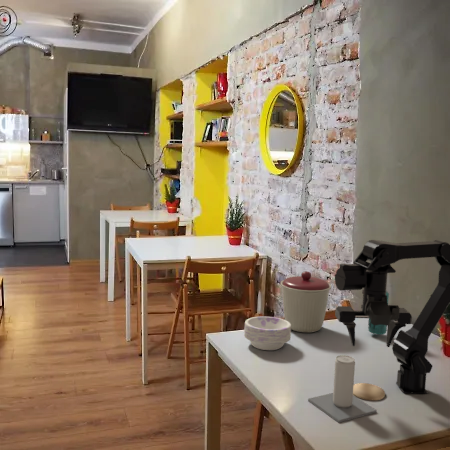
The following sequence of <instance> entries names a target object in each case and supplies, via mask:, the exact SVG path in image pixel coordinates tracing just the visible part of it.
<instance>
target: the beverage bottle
mask: <svg viewBox="0 0 450 450" xmlns="http://www.w3.org/2000/svg"><path fill="white" fill-rule="evenodd" d="M386 295H387V303H388V304H389V299H390V297H389V296H390V292H388V291H387V290H386ZM367 322H368V325H367V328H368V332H369V333H371V334H375V335H385V334H387V328H388V326H385V325H373V324H372V323H371V320H370V318H368V320H367Z"/></svg>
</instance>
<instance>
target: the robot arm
mask: <svg viewBox="0 0 450 450" xmlns="http://www.w3.org/2000/svg"><path fill="white" fill-rule="evenodd" d="M423 258H424V259H425V258H435V261H436V262H437V264H438V265H439V266H440V269H439V271H438V283H437V285H436V287H435V288H434V290H433V292H431V293H432V294H431V295H430V297H429V298H428V300H427V302H426V303H425V305H424V306H423V308H422V310H421V312H420V314H419V315H418V317H417V318H416V320H415V322H414V323H413V324H412V320H413V317H412V314H411V313H410V312H409V311H408V310H407V309H406V308H405V307H400V306H399V305H396V304H395V305H394V304H389V302H388V303H387V295H386V291H387V287H388V286H387V285H388V275H389V274H395V273H396V272H397V271H396V269H395V268H394V267H392V264H395V263H397V262H399V261H401V260H402V261H403V260H409V259H423ZM334 283H335V287H336V288H337V290H338V291H360V290H362V291H361V292H362V303H361V305H360V306H361V307H360V308H361V310H354V308H352V306H347V305H346V306H345V305H341V306H340V305H338V306H337V307H336V308H335V309H334V310H335V312H334V313H335V315H334V316H335V317H336V319H337V320H338V322H339V323H342V324H343V326H345V328H346V329H347V332H348V335H349V338H350V343H351V346H353V347H355V345H356V326H357V324H356V323H355V321H356V319H369V318H370V320H371V323H372V324H373V325H385V326H387V331H386V347H387V348H390V347H391V345H392V343H393V345H392V347H391V349H392V353H393V355H394V357H396V362H397V363H400V365H399V369H398V370H397V375H396V385H397V386H398V388H399V389H400V390H401V392H402V393H404V394H419V395H420V394H421V395H422V394H424V395H425V394H426V395H427V394H428V391H427V389H426V383H427V382H426V380H427V374H430V373H431V371H432V369H433V364H432V363H431V362H430V361H429V360H428V359H427V358H426V355H427V353H428V349H429V347H428V346H429V338H430V336H431V334H432V333H433V331H434V329H435V328H436V327H437V325H438V323H439V321H440V320H441V318H442V316H443V315H444V313H445V311H446V310H447V308H448V306H449V305H450V243H448V242H447V241H443V240H439V239H436V240H431V241H430V240H429V241H413V242H412V241H411V242H397V243H396V242H389V241H385V240H384V241H383V240H377V239H370V240H367V241H366V243H365V244H364V246H363V247H362V250H361V252H360V253H359V254H358V255H357V257H356V258H355V260H354V261H353V263H340V264H339V268H337V270H336V272H335V274H334ZM407 325H412V327H411V328H409V329H408V330H406V331H405V330H403V329H401V328H405V327H406V326H407ZM400 329H401V330H400ZM397 333H398V334H397ZM396 335H397V336H396Z"/></svg>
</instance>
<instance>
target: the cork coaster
mask: <svg viewBox="0 0 450 450" xmlns="http://www.w3.org/2000/svg"><path fill="white" fill-rule="evenodd" d="M353 396H355V397H357V398H358V399H360V400H364V401H371V402H372V401H373V402H374V401H379V400H383V399H384V398H385V396H386V392H385V390H384V388H382V387H380V386H378V385H375V384H372V383H364V382H363V383H361V382H359V383H355V384H354V386H353Z"/></svg>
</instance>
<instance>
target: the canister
mask: <svg viewBox="0 0 450 450" xmlns="http://www.w3.org/2000/svg"><path fill="white" fill-rule="evenodd" d="M280 286H281V287H282V301H283V302H282V304H283V305H282V307H283V316H284V320H286V321H288V322H290V324H291V331H293V332H294V331H295V332H297V333H307V334H308V333H314V332H317V331H320V330H321V328H322V327H323V325H324V321H325V318H326V311H327V307H328V299H329V294H330V290H331V289H332V285H331V283H329V282H328V281H326V280H325V279H323V278H319V277H313V276H312V274H311V272H310V271H308V270H306V271H303V272H302V273H301V275H300V276H297V275H296V276H290V277H286V278H285V279H283V280H281V281H280Z"/></svg>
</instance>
